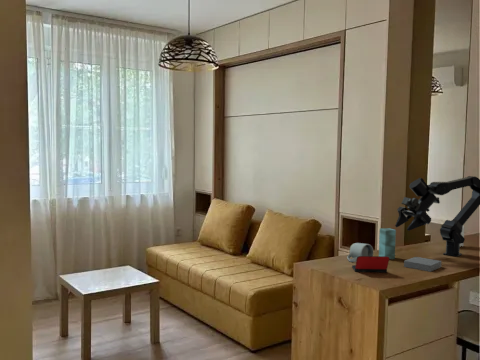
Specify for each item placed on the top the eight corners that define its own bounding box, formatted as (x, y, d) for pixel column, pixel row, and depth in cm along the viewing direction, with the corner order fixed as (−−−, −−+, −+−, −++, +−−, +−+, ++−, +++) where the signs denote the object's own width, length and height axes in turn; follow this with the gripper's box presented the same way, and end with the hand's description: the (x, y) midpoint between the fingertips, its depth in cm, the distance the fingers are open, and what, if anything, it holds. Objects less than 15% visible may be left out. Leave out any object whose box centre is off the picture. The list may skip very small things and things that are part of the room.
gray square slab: (415, 262, 199) (415, 256, 199) (441, 267, 191) (441, 261, 191) (403, 266, 191) (404, 260, 191) (430, 271, 183) (430, 265, 183)
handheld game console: (382, 268, 189) (382, 250, 188) (389, 275, 178) (390, 256, 178) (351, 267, 190) (351, 249, 189) (356, 274, 179) (357, 255, 178)
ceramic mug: (359, 257, 208) (359, 240, 207) (373, 260, 201) (373, 243, 201) (342, 260, 202) (342, 243, 202) (356, 264, 195) (356, 246, 195)
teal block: (388, 256, 210) (389, 228, 209) (394, 259, 205) (395, 230, 204) (378, 257, 209) (379, 228, 208) (384, 259, 204) (385, 230, 203)
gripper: (401, 189, 217) (379, 213, 215) (426, 193, 199) (402, 219, 197) (415, 205, 219) (394, 229, 217) (441, 210, 201) (418, 236, 199)
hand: (401, 228), depth 207 cm, fingers open, 9 cm apart
